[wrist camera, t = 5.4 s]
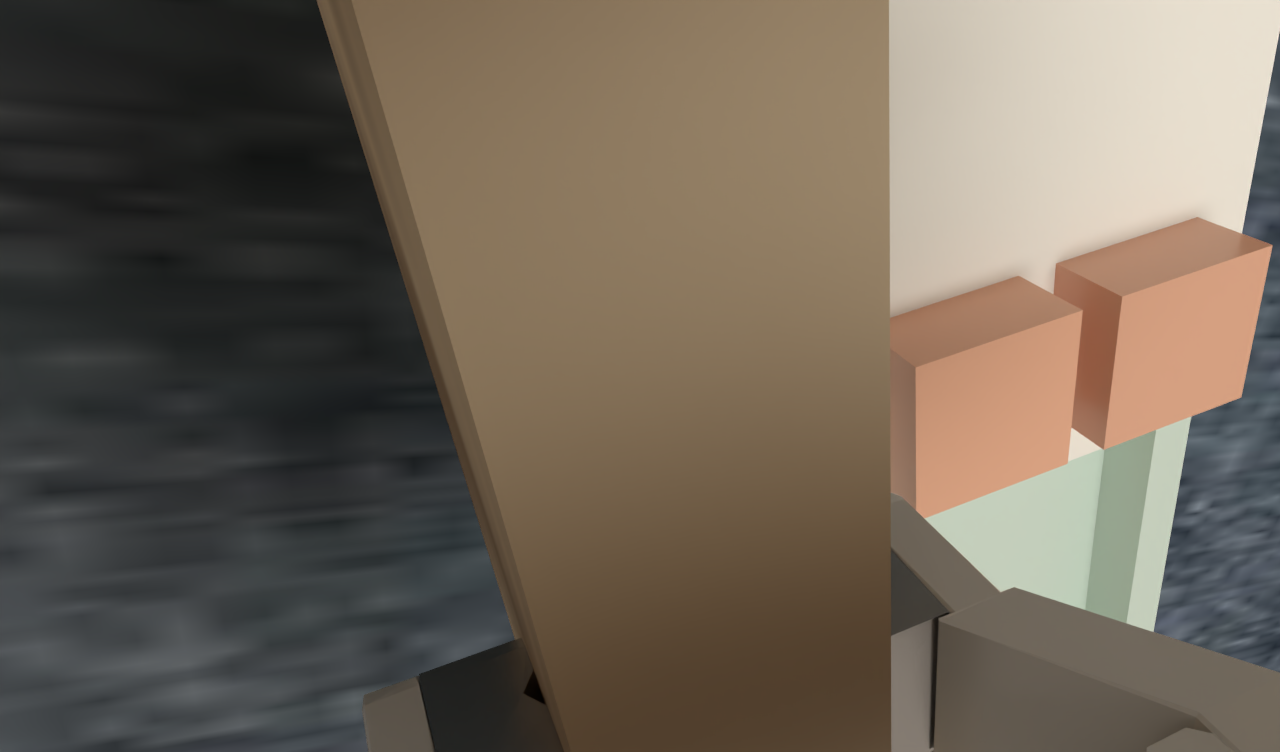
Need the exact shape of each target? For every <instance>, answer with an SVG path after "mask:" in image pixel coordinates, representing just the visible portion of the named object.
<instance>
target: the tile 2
mask: <svg viewBox="0 0 1280 752" xmlns="http://www.w3.org/2000/svg"><path fill="white" fill-rule="evenodd" d="M1271 250H1272V245H1271V244H1268V243H1265V242H1263V241H1260V240H1257V239H1255V238H1252V237H1249V236H1247V235H1244V234H1241V233H1239V232H1236V231H1233V230H1231V229H1228V228H1225V227H1223V226H1220V225H1217V224H1215V223H1212V222H1209V221H1207V220H1204V219H1201V218H1199V217H1196V218H1193V219H1190V220H1187V221H1184V222H1181V223H1178V224H1175V225H1172V226H1169V227H1166V228H1163V229H1160V230H1157V231H1154V232H1150V233H1147V234H1144V235H1141V236H1138V237H1135V238H1132V239H1129V240H1126V241H1123V242H1120V243H1117V244H1114V245H1111V246H1108V247H1105V248H1102V249H1099V250H1096V251H1093V252H1089V253H1086V254H1083V255H1080V256H1077V257H1074V258H1071V259H1068V260H1065V261H1062V262H1059V263H1056V269H1055V281H1054V295H1055V296H1057V297H1059V298H1061V299H1063V300H1065V301H1067V302H1068V303H1070V304H1072V305H1074V306H1076V307H1078V308H1080V309H1081V310H1083V313H1082V323H1081V333H1080V344H1079V354H1078V364H1077V374H1076V385H1075V395H1074V405H1073V415H1072V425H1071V428H1073V429H1074V430H1076V431H1077V432H1079V433H1080V434H1081V435H1083V436H1084V437H1086V438H1087V439H1089V440H1090V441H1092V442H1093V443H1095V444H1096V445H1097V446H1099V447H1100V448H1102V449H1103V450H1105V449H1107V448H1110V447H1113V446H1115V445H1118V444H1120V443H1123V442H1126V441H1128V440H1131V439H1134V438H1136V437H1139V436H1141V435H1144V434H1147V433H1149V432H1152V431H1154V430H1157V429H1160V428H1162V427H1165V426H1168V425H1170V424H1173V423H1175V422H1178V421H1181V420H1183V419H1186V418H1188V417H1191V416H1194V415H1196V414H1199V413H1201V412H1204V411H1207V410H1209V409H1212V408H1215V407H1217V406H1220V405H1222V404H1225V403H1228V402H1230V401H1233V400H1235V399H1238V398H1241V396H1242V391H1243V386H1244V381H1245V376H1246V371H1247V367H1248V362H1249V357H1250V352H1251V347H1252V342H1253V337H1254V333H1255V328H1256V323H1257V318H1258V313H1259V308H1260V303H1261V299H1262V294H1263V289H1264V284H1265V279H1266V274H1267V269H1268V265H1269V260H1270V255H1271Z"/></svg>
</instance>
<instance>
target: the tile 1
mask: <svg viewBox="0 0 1280 752" xmlns="http://www.w3.org/2000/svg"><path fill="white" fill-rule="evenodd" d="M1082 313H1083V310H1081V309H1080V308H1078V307H1076V306H1074V305H1072V304H1070V303H1068V302H1067V301H1065V300H1063V299H1061V298H1059V297H1057V296H1055V295H1054V294H1052V293H1050V292H1048V291H1046V290H1044V289H1042V288H1041V287H1039V286H1037V285H1035V284H1033V283H1031V282H1029V281H1028V280H1026V279H1024V278H1022V277H1020V276H1016V277H1013V278H1010V279H1007V280H1004V281H1001V282H998V283H995V284H992V285H989V286H986V287H983V288H980V289H977V290H974V291H971V292H967V293H964V294H961V295H958V296H955V297H952V298H949V299H946V300H943V301H940V302H937V303H934V304H931V305H928V306H925V307H922V308H919V309H916V310H913V311H910V312H906V313H903V314H900V315H897V316H894V317H891V318H890V466H891V493H894V494H896V495H899V496H902V497H903V498H904V499H905V500H906V501H907V502H908V503H909V504H910V505H911V506H912V507H913V508H914V509H915V510H916V511H917V512H918V513H919V514H920V515H921V516H922V517H923V518H924V519H925V518H927V517H930V516H932V515H935V514H938V513H940V512H943V511H945V510H948V509H951V508H953V507H956V506H959V505H961V504H964V503H966V502H969V501H972V500H974V499H977V498H979V497H982V496H985V495H987V494H990V493H992V492H995V491H998V490H1000V489H1003V488H1006V487H1008V486H1011V485H1013V484H1016V483H1019V482H1021V481H1024V480H1026V479H1029V478H1032V477H1034V476H1037V475H1040V474H1042V473H1045V472H1047V471H1050V470H1053V469H1055V468H1058V467H1060V466H1063V465H1066V464H1068V456H1069V446H1070V436H1071V425H1072V415H1073V405H1074V395H1075V385H1076V374H1077V364H1078V354H1079V344H1080V333H1081V323H1082Z"/></svg>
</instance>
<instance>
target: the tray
mask: <svg viewBox="0 0 1280 752" xmlns="http://www.w3.org/2000/svg"><path fill="white" fill-rule="evenodd" d="M1190 420H1191V417H1188V418H1186V419H1183V420H1181V421H1178V422H1175V423H1173V424H1170V425H1168V426H1165V427H1162V428H1160V429H1157V430H1154V431H1152V432H1149V433H1147V434H1144V435H1141V436H1139V437H1136V438H1134V439H1131V440H1128V441H1126V442H1123V443H1120V444H1118V445H1115V446H1113V447H1110V448H1107V449H1105V450H1103V449H1100V450H1097V451H1094V452H1092V453H1089V454H1087V455H1084V456H1081V457H1079V458H1076V459H1073V460H1071V461H1068V464H1066V465H1063V466H1060V467H1058V468H1055V469H1053V470H1050V471H1047V472H1045V473H1042V474H1040V475H1037V476H1034V477H1032V478H1029V479H1026V480H1024V481H1021V482H1019V483H1016V484H1013V485H1011V486H1008V487H1006V488H1003V489H1000V490H998V491H995V492H992V493H990V494H987V495H985V496H982V497H979V498H977V499H974V500H972V501H969V502H966V503H964V504H961V505H959V506H956V507H953V508H951V509H948V510H945V511H943V512H940V513H938V514H935V515H932V516H930V517H927V518H925V520H927V521H928V522H929V523H930V524H931V525H932V526H933V527H934V528H935V529H936V530H937V531H938V532H939V533H940V534H941V535H942V536H943V537H944V538H945V539H946V540H947V541H948V542H949V543H950V544H951V545H953V546H954V547H955V548H956V549H957V550H958V551H959V552H960V553H961V554H962V555H963V556H964V557H965V558H966V559H967V560H968V561H969V562H970V563H971V564H972V565H973V566H974V567H975V568H976V569H977V570H978V571H980V572H981V573H982V574H983V575H984V576H985V577H986V578H987V579H988V580H989V581H990V582H991V583H992V584H993V585H994V586H995V587H996V588H997V589H998V590H999V591H1000V592H1002V591H1005V590H1008V589H1010V588H1013V587H1016V588H1019V589H1022V590H1025V591H1028V592H1031V593H1034V594H1037V595H1040V596H1044V597H1047V598H1050V599H1053V600H1056V601H1059V602H1062V603H1065V604H1068V605H1071V606H1075V607H1078V608H1081V609H1084V610H1087V611H1090V612H1093V613H1096V614H1099V615H1102V616H1105V617H1109V618H1112V619H1115V620H1118V621H1121V622H1124V623H1127V624H1130V625H1133V626H1136V627H1139V628H1143V629H1146V630H1149V631H1152V632H1153V631H1154V625H1155V619H1156V614H1157V608H1158V602H1159V597H1160V591H1161V585H1162V580H1163V574H1164V568H1165V562H1166V557H1167V551H1168V545H1169V540H1170V534H1171V528H1172V523H1173V517H1174V511H1175V506H1176V500H1177V494H1178V489H1179V483H1180V477H1181V471H1182V466H1183V460H1184V454H1185V449H1186V443H1187V437H1188V432H1189V426H1190Z"/></svg>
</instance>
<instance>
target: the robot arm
mask: <svg viewBox="0 0 1280 752" xmlns="http://www.w3.org/2000/svg"><path fill="white" fill-rule="evenodd" d="M362 713H363V720H364V726H365V733H366V739H367V746H368V752H564V750H563V747H562V744H561V742H560V739H559V736H558V734H557V731H556V728H555V725H554V723H553V720H552V717H551V715H550V712H549V709H548V706H546V705H544V701H543V698H542V695H541V692H540V688H539V685H538V682H537V678H536V675H535V672H534V669H533V666H532V663H531V660H530V658H529V655H528V652H527V650H526V647H525V644H524V642H523V640H522V637H521V638H519V639H516V640H513V641H510V642H507V643H505V644H502V645H499V646H496V647H494V648H491V649H488V650H485V651H482V652H480V653H477V654H474V655H471V656H468V657H466V658H463V659H460V660H457V661H454V662H452V663H449V664H446V665H443V666H440V667H438V668H435V669H432V670H429V671H427V672H424V673H421V674H419V676H416V677H413V678H410V679H408V680H405V681H402V682H399V683H396V684H393V685H391V686H388V687H385V688H382V689H379V690H377V691H374V692H371V693H368V694H365V695H364V698H363V707H362ZM933 750H934V752H1280V673H1279V672H1276V671H1272V670H1269V669H1266V668H1263V667H1260V666H1257V665H1254V664H1251V663H1248V662H1245V661H1242V660H1238V659H1235V658H1232V657H1229V656H1226V655H1223V654H1220V653H1217V652H1214V651H1211V650H1208V649H1204V648H1201V647H1198V646H1195V645H1192V644H1189V643H1186V642H1183V641H1180V640H1177V639H1173V638H1170V637H1167V636H1164V635H1161V634H1158V633H1155V632H1152V631H1149V630H1146V629H1143V628H1139V627H1136V626H1133V625H1130V624H1127V623H1124V622H1121V621H1118V620H1115V619H1112V618H1109V617H1105V616H1102V615H1099V614H1096V613H1093V612H1090V611H1087V610H1084V609H1081V608H1078V607H1075V606H1071V605H1068V604H1065V603H1062V602H1059V601H1056V600H1053V599H1050V598H1047V597H1044V596H1040V595H1037V594H1034V593H1031V592H1028V591H1025V590H1022V589H1019V588H1016V587H1013V588H1010V589H1008V590H1005V591H1002V592H1000V591H999V590H998V589H997V588H996V587H995V586H994V585H993V584H992V583H991V582H990V581H989V580H988V579H987V578H986V577H985V576H984V575H983V574H982V573H981V572H980V571H978V570H977V569H976V568H975V567H974V566H973V565H972V564H971V563H970V562H969V561H968V560H967V559H966V558H965V557H964V556H963V555H962V554H961V553H960V552H959V551H958V550H957V549H956V548H955V547H954V546H953V545H951V544H950V543H949V542H948V541H947V540H946V539H945V538H944V537H943V536H942V535H941V534H940V533H939V532H938V531H937V530H936V529H935V528H934V527H933V526H932V525H931V524H930V523H929V522H928V521H927V520H925V519H924V518H923V517H922V516H921V515H920V514H919V513H918V512H917V511H916V510H915V509H914V508H913V507H912V506H911V505H910V504H909V503H908V502H907V501H906V500H905V499H904V498H903V497H902V496H899V495H896V494H894V493H891V752H931V751H933Z"/></svg>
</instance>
